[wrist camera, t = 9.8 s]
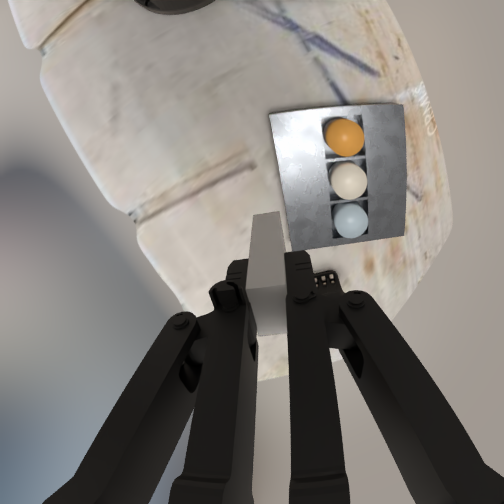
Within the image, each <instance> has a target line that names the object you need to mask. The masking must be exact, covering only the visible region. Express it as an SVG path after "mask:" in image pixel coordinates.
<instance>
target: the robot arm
mask: <svg viewBox="0 0 504 504" xmlns="http://www.w3.org/2000/svg"><path fill="white" fill-rule="evenodd" d="M134 1H135V2H136V3H138V4H139V5H140V6H142V7H144V8H146V9H147V10H149V11H152V12H155V13H159V14H167V15H173V14H182V13H187V12H191V11H194V10H197V9H200V8H202V7H204V6H206V5H208V4H210V3H212V2H213V1H215V0H134ZM209 295H210V298H211V300H212V303H213V306H214V311H212V312H211V313H208V314H206V315H203V316H200V317H197V318H196V316H195V315H194V314H193V313H191V312H180V313H177V314H175V315H173V316H172V317H171V318H170V319H169V320H168V321H167V323H166V325H165V326H164V327H163V329H162V330H161V332H160V334H159V335H158V337H157V338H156V340H155V342H154V343H153V345H152V346H151V348H150V349H149V351H148V352H147V354H146V355H145V357H144V359H143V360H142V362H141V363H140V365H139V367H138V368H137V370H136V371H135V373H134V375H133V376H132V378H131V379H130V381H129V383H128V384H127V386H126V388H125V389H124V391H123V392H122V394H121V396H120V397H119V399H118V401H117V402H116V404H115V406H114V407H113V409H112V411H111V412H110V414H109V416H108V417H107V419H106V421H105V422H104V424H103V426H102V427H101V429H100V431H99V432H98V434H97V436H96V438H95V440H94V441H93V443H92V445H91V447H90V448H89V450H88V452H87V453H86V455H85V457H84V459H83V461H82V462H81V464H80V466H79V467H78V469H77V471H76V473H75V475H74V477H72V478H71V479H70V480H69V481H68V482H67V483H65V484H64V485H63V486H62V487H61V488H59V489H58V490H57V491H56V492H55V493H53V495H51V496H50V497H49V498H47V499H46V500H45V501H44V502H43V503H42V504H148V503H149V502H150V500H151V497H152V495H153V493H154V491H155V489H156V487H157V485H158V483H159V481H160V479H161V477H162V474H163V473H164V470H165V468H166V466H167V464H168V462H169V460H170V458H171V456H172V454H173V452H174V449H175V447H176V445H177V443H178V441H179V439H180V437H181V434H182V432H183V430H184V428H185V426H186V423H187V422H188V419H189V417H190V415H191V413H192V411H193V409H194V413H193V418H192V423H191V430H190V435H189V440H188V446H187V452H186V458H185V464H184V469H183V472H182V474H181V475H180V476H179V477H177V478H176V479H175V480H174V482H173V483H172V487H171V490H170V496H169V502H168V504H254V500H253V496H252V475H253V456H254V435H255V414H256V393H257V370H258V342H257V338H256V335H257V332H258V336H268V335H277V334H286V333H287V338H288V361H289V385H290V386H289V388H290V422H291V423H290V424H291V480H290V486H289V487H290V488H289V504H350V494H349V493H350V492H349V483H348V477H347V474H346V471H345V462H344V452H343V443H342V434H341V426H340V418H339V410H338V402H337V395H336V389H335V381H334V375H333V369H332V362H331V356H330V350H329V348H336V349H339V352H340V354H341V355H342V357H343V359H344V361H345V363H346V364H347V367H348V369H349V371H350V372H351V374H352V376H353V378H354V380H355V382H356V384H357V386H358V388H359V390H360V391H361V394H362V396H363V397H364V399H365V402H366V403H367V405H368V407H369V409H370V411H371V413H372V415H373V417H374V419H375V421H376V423H377V425H378V427H379V429H380V431H381V433H382V435H383V437H384V439H385V441H386V443H387V445H388V448H389V450H390V452H391V454H392V456H393V458H394V460H395V462H396V464H397V466H398V468H399V470H400V473H401V475H402V477H403V479H404V481H405V483H406V485H407V488H408V490H409V492H410V494H411V496H412V497H413V499H414V501H415V503H416V504H504V477H502V476H501V475H500V474H498V473H497V472H496V471H494V470H493V469H492V468H490V467H489V466H487V465H486V464H485V463H484V461H483V460H482V458H481V456H480V454H479V453H478V451H477V449H476V447H475V446H474V444H473V442H472V440H471V439H470V437H469V435H468V434H467V432H466V430H465V429H464V427H463V425H462V424H461V422H460V421H459V419H458V417H457V416H456V414H455V413H454V411H453V409H452V408H451V406H450V405H449V403H448V402H447V400H446V399H445V397H444V395H443V394H442V392H441V391H440V389H439V388H438V386H437V385H436V384H435V382H434V381H433V379H432V378H431V376H430V375H429V373H428V372H427V370H426V369H425V367H424V366H423V365H422V363H421V362H420V360H419V359H418V358H417V356H416V355H415V353H414V352H413V351H412V349H411V348H410V347H409V345H408V344H407V342H406V341H405V340H404V338H403V337H402V336H401V334H400V333H399V332H398V330H397V329H396V328H395V326H394V325H393V324H392V322H391V321H390V320H389V318H388V317H387V316H386V314H385V313H384V312H383V310H382V309H381V308H380V307H379V305H378V304H377V303H376V302H375V300H374V299H373V298H372V296H370V295H369V294H368V293H366V292H364V291H358V290H354V291H349V292H347V293H345V294H343V295H342V296H341V298H340V299H332V298H327V297H325V296H323V295H321V294H320V293H319V292H318V290H317V288H316V283H315V278H314V273H313V269H312V264H311V259H310V255H309V254H308V253H307V252H306V251H305V250H300V251H293V252H286V249H285V242H284V236H283V230H282V224H281V218H280V212H279V211H277V212H270V213H264V214H257V215H253V223H252V232H251V242H250V252H249V258H248V259H241V260H234V261H233V262H232V263H231V264H230V265H229V267H228V270H227V275H226V280H224V281H220V282H218V283H216V284H215V285H213V286H212V287H211V288H210V290H209Z"/></svg>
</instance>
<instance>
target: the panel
mask: <svg viewBox="0 0 504 504" xmlns="http://www.w3.org/2000/svg"><path fill="white" fill-rule="evenodd" d="M269 117H270V122H271V127H272V132H273V138H274V143H275V149H276V154H277V160H278V165H279V171H280V177H281V183H282V189H283V195H284V201H285V207H286V213H287V220H288V226H289V233H290V240H291V246H292V252H293V251H300V250H308V249H315V248H322V247H329V246H336V245H343V244H350V243H357V242H364V241H371V240H378V239H385V238H392V237H398V236H404V229H405V213H406V180H407V169H406V136H405V120H404V109H403V105H402V104H397V103H369V104H349V105H335V106H323V107H313V108H304V109H296V110H289V111H282V112H275V113H269ZM338 117H341V118H346V119H348V120H351V121H353V122H355V123H357V124H358V125H359V126H360V127H361V129H362V131H363V133H364V144H363V147H362V148H361V150H360V151H359V152H358V153H356V154H355V155H353V156H348V157H345V156H340V155H338V154H336V153H335V152H334V151H333V150H332V149H331V148H330V147H329V146H328V145H327V144H326V142H325V140H324V137H323V131H324V128H325V126H326V124H327V123H328V122H329V121H330V120H332V119H334V118H338ZM343 160H350V161H352V162H354V163H355V164H356V165H358V166H359V167H360V168H361V169H362V170H363V171H364V172H365V174H366V177H367V187H366V189H365V191H364V193H363V194H362V195H361V196H359V197H358V198H356V199H352V200H347V199H343V198H341V197H339V196H338V195H337V194H336V192H335V191H334V189H333V188H332V186H331V184H330V182H329V179H328V174H329V170H330V168H331V167H332V165H333V164H335V163H336V162H338V161H343ZM351 201H356V202H358V203H359V205H360V206H361V207H362V209H363V210H364V212H365V213H366V215H367V217H368V226H367V228H366V230H365V231H364V233H363V234H361V235H360V236H358V237H356V238H345V237H343V236H341V235H340V234H339V233H338V231H337V229H336V227H335V224H334V222H333V220H332V211H333V208H334V207H335V205H336V204H337V203H343V202H351Z"/></svg>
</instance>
